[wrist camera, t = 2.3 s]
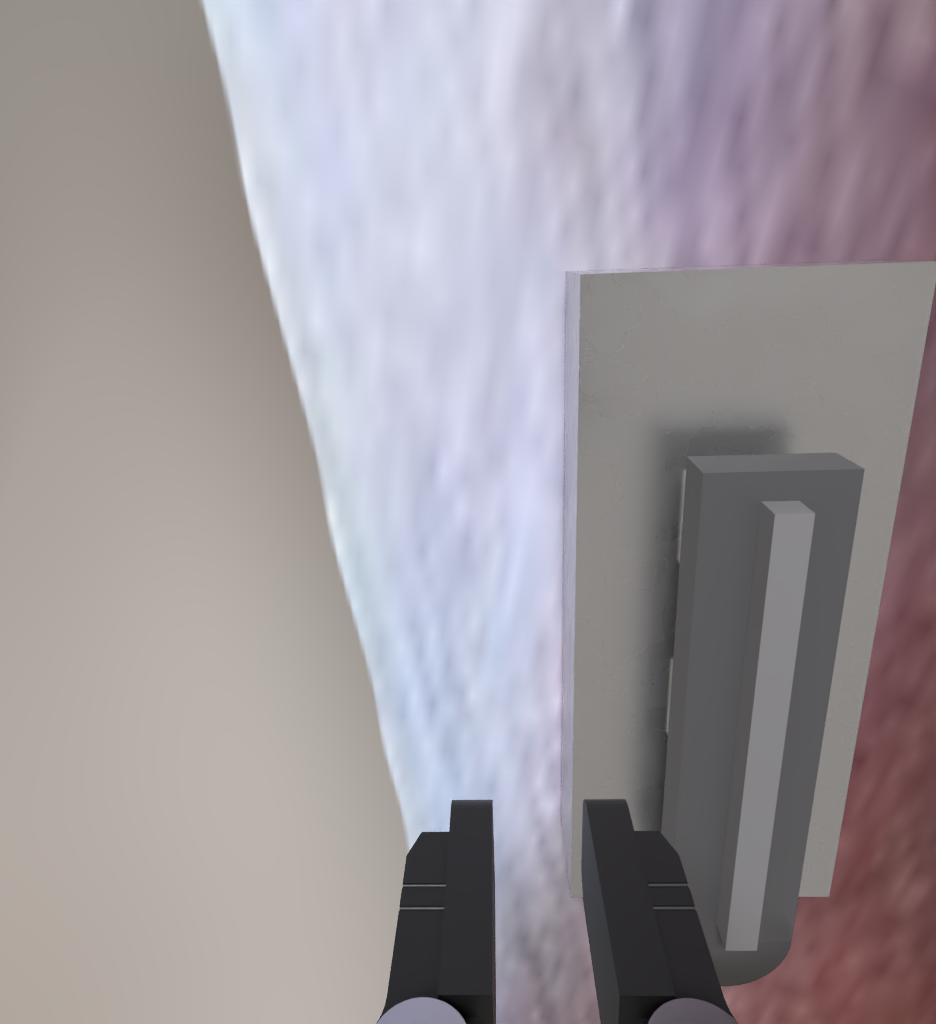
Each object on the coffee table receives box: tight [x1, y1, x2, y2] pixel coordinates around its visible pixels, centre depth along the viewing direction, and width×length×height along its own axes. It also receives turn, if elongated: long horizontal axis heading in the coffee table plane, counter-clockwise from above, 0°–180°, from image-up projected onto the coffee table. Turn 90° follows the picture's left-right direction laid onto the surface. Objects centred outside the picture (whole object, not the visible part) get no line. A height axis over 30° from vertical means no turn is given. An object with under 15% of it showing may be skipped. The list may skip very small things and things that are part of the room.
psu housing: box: [561, 260, 936, 897], centre depth 31 cm, size 12×28×7 cm, turn 2°
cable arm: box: [661, 453, 865, 986], centre depth 27 cm, size 5×22×3 cm, turn 2°
